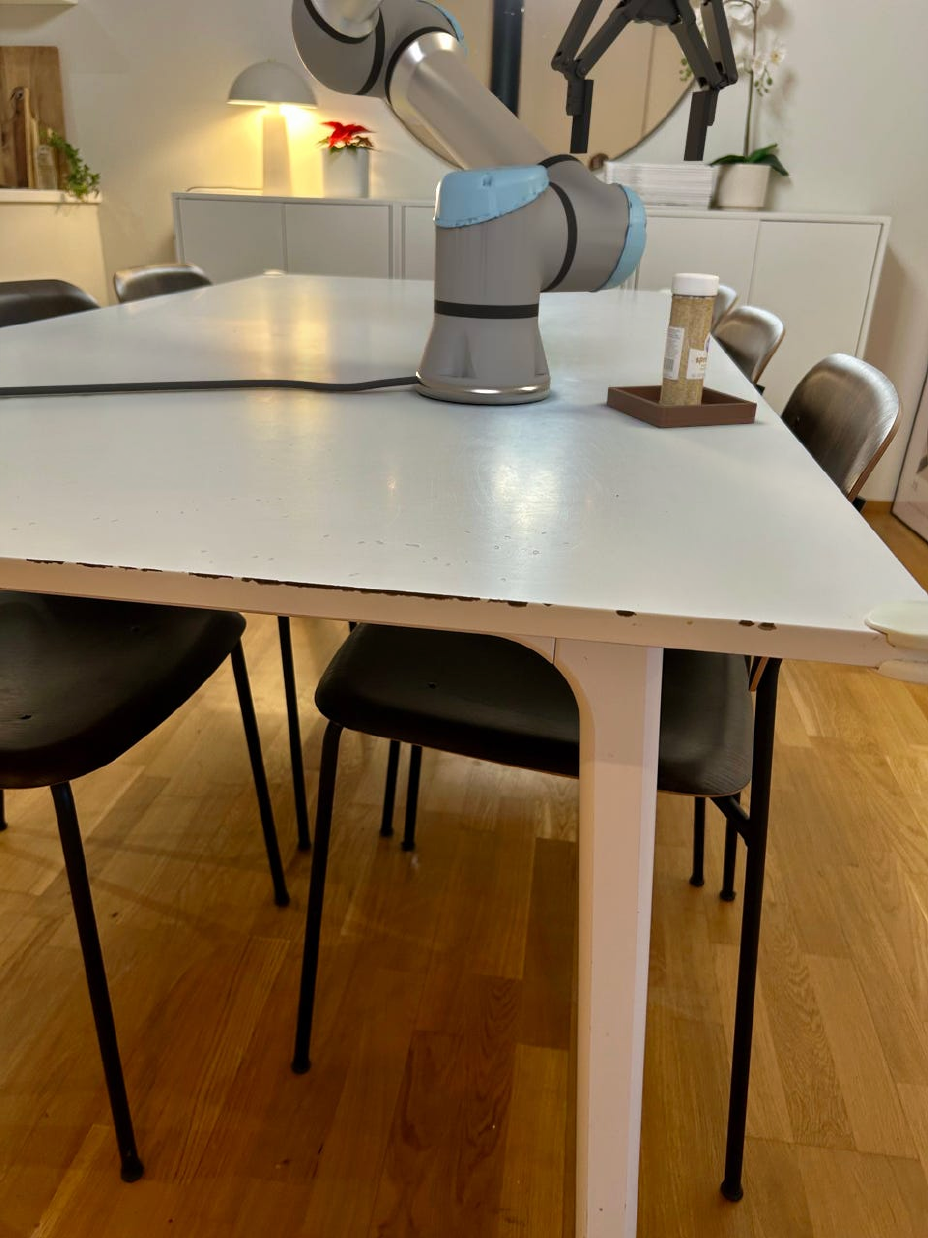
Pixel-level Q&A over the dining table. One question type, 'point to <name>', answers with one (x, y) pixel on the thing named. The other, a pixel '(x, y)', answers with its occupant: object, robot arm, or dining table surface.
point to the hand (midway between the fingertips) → (636, 157)
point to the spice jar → (688, 338)
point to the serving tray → (681, 407)
